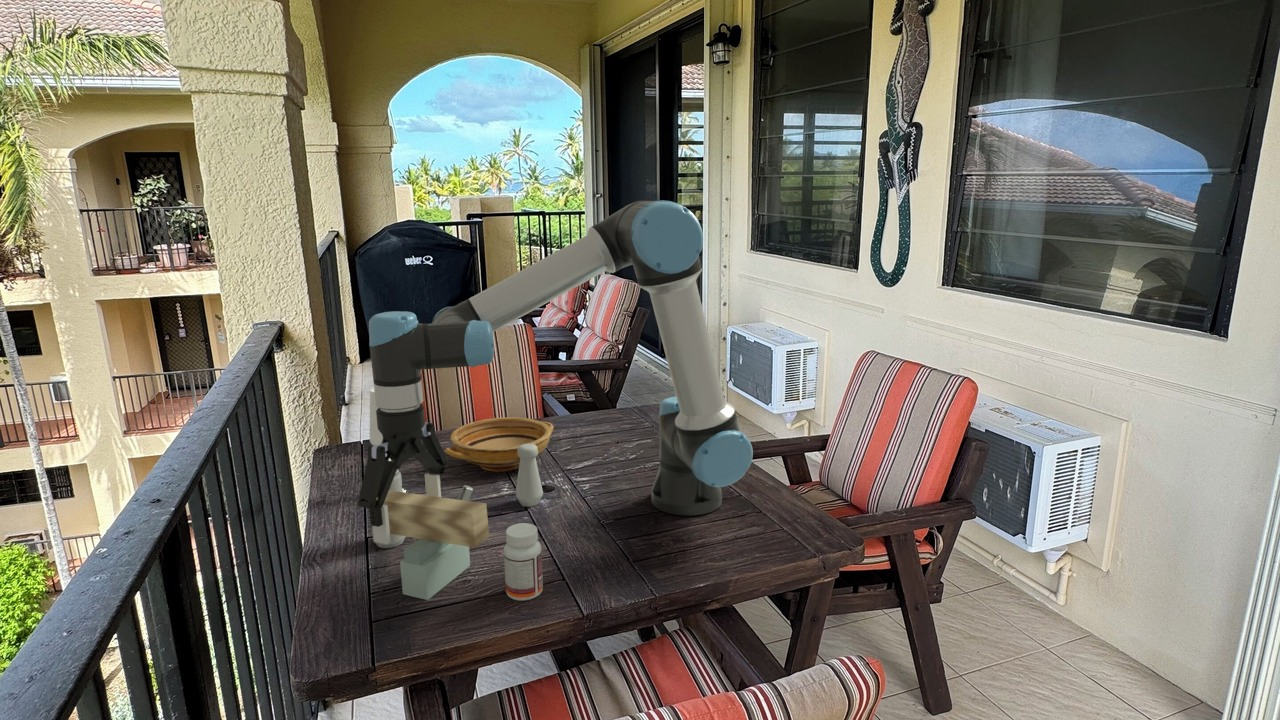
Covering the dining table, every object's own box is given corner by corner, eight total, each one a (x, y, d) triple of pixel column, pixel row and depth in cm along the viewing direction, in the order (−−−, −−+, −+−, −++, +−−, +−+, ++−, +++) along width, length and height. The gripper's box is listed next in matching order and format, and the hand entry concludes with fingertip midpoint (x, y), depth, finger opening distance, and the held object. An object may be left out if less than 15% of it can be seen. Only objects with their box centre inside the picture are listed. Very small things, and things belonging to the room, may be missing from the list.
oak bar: (489, 536, 121) (486, 503, 119) (475, 547, 117) (472, 513, 116) (393, 522, 128) (389, 490, 127) (377, 531, 124) (373, 499, 123)
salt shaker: (538, 509, 151) (535, 451, 148) (512, 507, 152) (509, 449, 149) (547, 498, 157) (544, 441, 154) (522, 496, 158) (519, 440, 155)
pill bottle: (527, 578, 125) (524, 517, 122) (550, 591, 121) (548, 529, 118) (498, 592, 120) (494, 530, 118) (521, 606, 116) (518, 542, 114)
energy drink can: (412, 541, 138) (406, 467, 135) (383, 552, 134) (376, 477, 130) (396, 531, 142) (389, 459, 139) (367, 542, 138) (360, 468, 134)
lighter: (440, 532, 141) (437, 495, 140) (437, 529, 143) (434, 492, 141) (475, 523, 145) (472, 486, 143) (471, 520, 147) (469, 483, 145)
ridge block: (470, 565, 129) (467, 522, 127) (427, 600, 118) (423, 553, 116) (446, 560, 131) (443, 517, 129) (402, 594, 120) (398, 548, 118)
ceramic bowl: (477, 494, 159) (475, 460, 157) (423, 465, 176) (421, 434, 174) (581, 460, 179) (580, 429, 177) (523, 437, 196) (522, 408, 194)
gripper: (428, 385, 132) (437, 493, 137) (324, 425, 109) (338, 553, 114) (463, 389, 129) (470, 499, 134) (363, 431, 107) (376, 562, 112)
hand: (409, 524), depth 124 cm, fingers open, 13 cm apart
